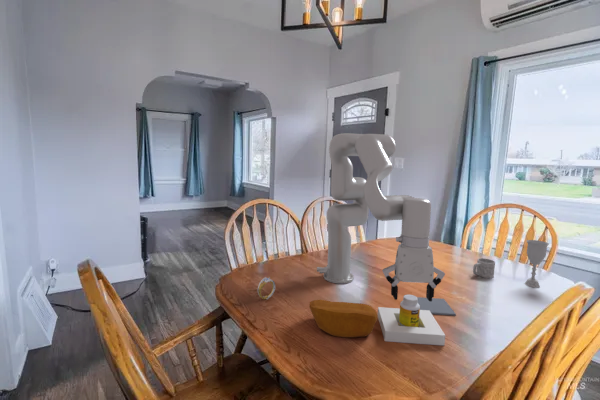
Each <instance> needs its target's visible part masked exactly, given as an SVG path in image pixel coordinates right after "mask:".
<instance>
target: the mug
mask: <svg viewBox="0 0 600 400" xmlns="http://www.w3.org/2000/svg"><path fill="white" fill-rule="evenodd" d="M495 266H496V261H495V260H493V259H490V258H484V257H480V258H477V262H476V263H475V264H473V268H472V273H473V274H474V275H477V277H481V278H484V279H486V278H487V279H492V278H494V275H495Z"/></svg>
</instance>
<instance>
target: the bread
mask: <svg viewBox="0 0 600 400" xmlns="http://www.w3.org/2000/svg"><path fill="white" fill-rule="evenodd" d="M309 309H310V312H311V314H312V316H313V319H314V321H315V323H316V325H317V327H318V328H319V329H321V330H322V331H324V332H325V333H327V334H328V335H332V336H334V337H338V338H357V337H358V338H359V337H367V336H369V335H370V334H371V333H372V332H373V330H374V328H375V325H376V322H377V321H378V311H376V309H375V308H374V307H373V306H371V305H370V304H367V303H360V302H359V303H358V302H357V303H356V302H345V301H331V300H327V299H326V300H325V299H314V300H312V301H309Z"/></svg>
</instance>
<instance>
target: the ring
mask: <svg viewBox="0 0 600 400" xmlns="http://www.w3.org/2000/svg"><path fill="white" fill-rule="evenodd" d="M267 283H270V284H271V292H270V293H269V294H268V295H265V296H262V289H263V287H265V285H267ZM275 291H276V283H275V281H274V280H273V279H271V277H270V276H268V277H267V276H264V277H263V278H262V279H261V280H260V281H259V283H258V287H257V295H258V296H259V298H261V299H262V300H269V299H270V298H271V297H272V296H273V295H274V293H275Z"/></svg>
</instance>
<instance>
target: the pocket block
mask: <svg viewBox="0 0 600 400" xmlns="http://www.w3.org/2000/svg"><path fill="white" fill-rule="evenodd" d="M399 314H400V307H395V308H394V307H383V306H382V307H381V306H378V307H377V315H378V318H377V320H378V322H379V325H380V329H381V332H382V336H383V340H384V342H389V343H390V342H391V343H393V342H394V343H403V344H404V343H405V344H418V345H430V346H431V345H432V346H445V343H446V334H445V332H444V331H443V329H442V328H441V326H440V324H439V323H438V322H437V320H436V318H435V317H434V314H431V312H430V310H420V313H419V325H418V327H407V326H399Z"/></svg>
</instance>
